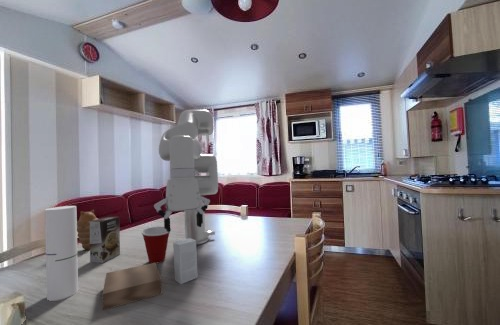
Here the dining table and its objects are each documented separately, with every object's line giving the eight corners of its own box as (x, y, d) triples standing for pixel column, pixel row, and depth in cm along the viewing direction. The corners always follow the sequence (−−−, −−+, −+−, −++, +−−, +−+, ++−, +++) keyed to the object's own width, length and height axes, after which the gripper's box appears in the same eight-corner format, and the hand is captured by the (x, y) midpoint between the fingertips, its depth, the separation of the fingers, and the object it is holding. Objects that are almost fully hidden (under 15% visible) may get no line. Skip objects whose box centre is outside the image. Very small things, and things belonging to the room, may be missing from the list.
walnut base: (155, 274, 77) (155, 262, 77) (161, 293, 65) (161, 279, 65) (106, 286, 71) (106, 273, 71) (102, 309, 58) (102, 294, 58)
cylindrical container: (58, 288, 70) (57, 206, 71) (83, 286, 71) (81, 205, 72) (39, 302, 63) (38, 210, 64) (67, 299, 64) (65, 209, 65)
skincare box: (191, 273, 77) (190, 237, 77) (198, 277, 74) (196, 240, 74) (174, 280, 73) (172, 242, 73) (180, 285, 70) (178, 245, 70)
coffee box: (103, 263, 89) (102, 221, 90) (89, 262, 91) (88, 221, 91) (121, 254, 98) (120, 216, 99) (108, 253, 99) (107, 216, 100)
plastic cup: (153, 268, 82) (152, 234, 83) (136, 263, 88) (135, 231, 88) (177, 257, 91) (176, 227, 92) (160, 253, 97) (159, 224, 98)
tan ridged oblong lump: (79, 254, 100) (79, 212, 101) (73, 250, 105) (73, 211, 106) (102, 248, 107) (101, 209, 108) (95, 245, 112) (95, 208, 113)
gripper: (205, 173, 81) (206, 222, 81) (152, 176, 73) (153, 230, 72) (212, 173, 75) (214, 226, 74) (154, 175, 67) (156, 235, 66)
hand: (184, 228), depth 73 cm, fingers open, 9 cm apart
